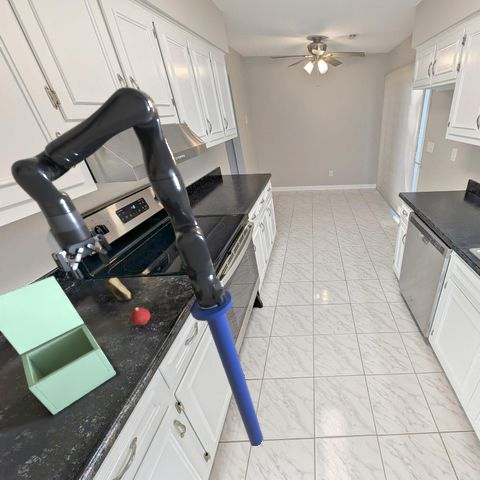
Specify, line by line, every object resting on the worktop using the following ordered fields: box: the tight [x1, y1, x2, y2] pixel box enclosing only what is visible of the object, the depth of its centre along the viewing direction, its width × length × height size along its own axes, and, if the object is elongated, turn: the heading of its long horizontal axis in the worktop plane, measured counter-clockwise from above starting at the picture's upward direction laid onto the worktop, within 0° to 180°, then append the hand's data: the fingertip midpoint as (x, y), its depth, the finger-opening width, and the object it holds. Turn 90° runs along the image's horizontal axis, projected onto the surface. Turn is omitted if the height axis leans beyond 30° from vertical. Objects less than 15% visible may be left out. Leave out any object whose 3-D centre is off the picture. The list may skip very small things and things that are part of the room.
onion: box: [129, 307, 151, 326], centre depth 91 cm, size 6×6×8 cm
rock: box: [104, 276, 132, 301], centre depth 109 cm, size 11×9×10 cm
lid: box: [0, 275, 85, 356], centre depth 71 cm, size 17×14×1 cm
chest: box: [20, 323, 117, 416], centre depth 72 cm, size 16×14×11 cm
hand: (94, 271), depth 84 cm, fingers open, 8 cm apart
